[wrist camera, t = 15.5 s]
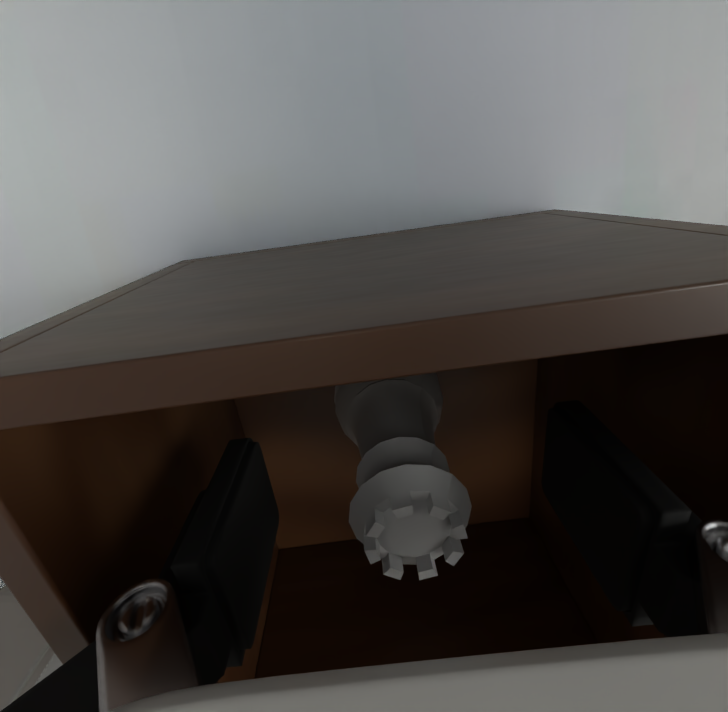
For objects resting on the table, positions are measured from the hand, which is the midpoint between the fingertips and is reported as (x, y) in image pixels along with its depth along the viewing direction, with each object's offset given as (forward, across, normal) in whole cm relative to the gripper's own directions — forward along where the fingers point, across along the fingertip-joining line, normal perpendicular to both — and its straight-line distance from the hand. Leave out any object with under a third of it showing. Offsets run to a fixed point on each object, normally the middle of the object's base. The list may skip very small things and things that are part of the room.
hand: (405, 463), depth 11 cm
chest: (+7, 0, +2) cm, 7 cm away
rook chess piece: (+6, 0, +1) cm, 6 cm away
